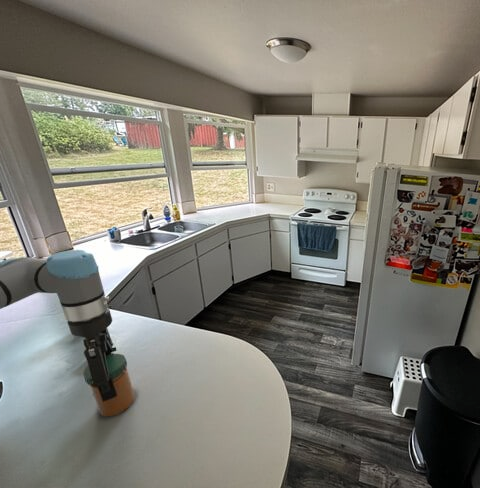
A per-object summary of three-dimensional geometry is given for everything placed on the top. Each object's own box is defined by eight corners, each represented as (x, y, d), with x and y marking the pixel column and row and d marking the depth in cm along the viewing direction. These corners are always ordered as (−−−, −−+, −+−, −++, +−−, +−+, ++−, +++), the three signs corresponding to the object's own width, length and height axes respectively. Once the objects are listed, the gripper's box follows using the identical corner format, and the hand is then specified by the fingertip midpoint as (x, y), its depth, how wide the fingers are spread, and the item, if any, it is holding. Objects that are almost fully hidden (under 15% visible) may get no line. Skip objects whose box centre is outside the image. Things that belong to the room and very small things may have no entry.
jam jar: (98, 422, 64) (84, 387, 60) (101, 399, 70) (89, 366, 66) (134, 406, 68) (124, 372, 64) (134, 386, 74) (125, 354, 70)
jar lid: (128, 355, 71) (126, 349, 70) (126, 376, 65) (124, 369, 64) (88, 367, 66) (86, 361, 66) (82, 391, 60) (79, 384, 59)
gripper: (104, 333, 54) (127, 409, 61) (112, 290, 70) (129, 355, 77) (55, 346, 49) (86, 426, 57) (75, 297, 66) (97, 365, 73)
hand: (111, 385), depth 67 cm, fingers closed on jar lid, 8 cm apart
